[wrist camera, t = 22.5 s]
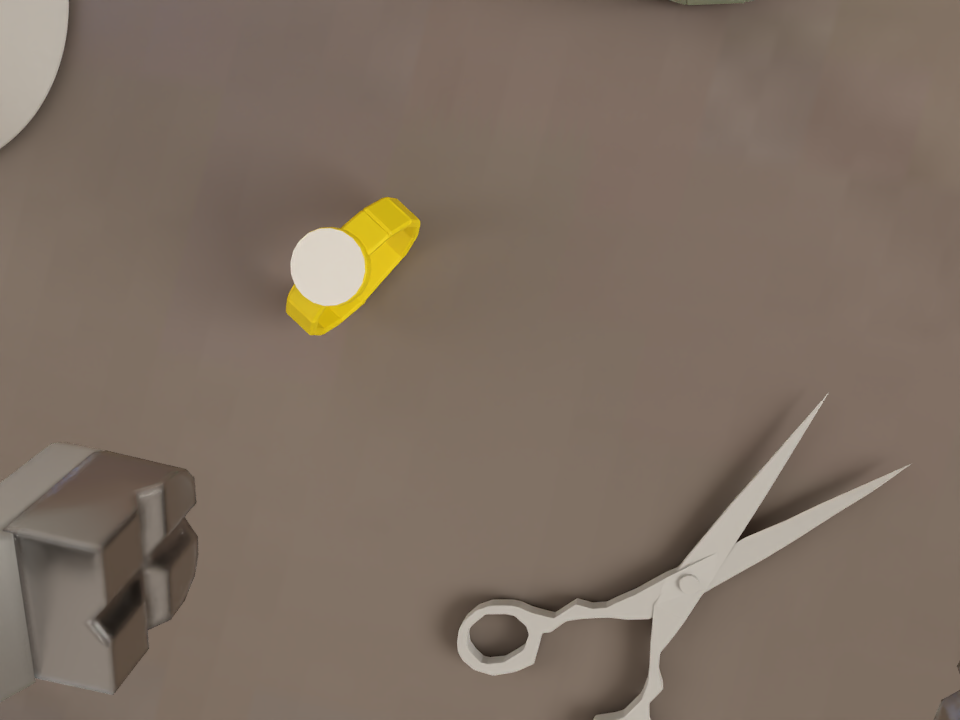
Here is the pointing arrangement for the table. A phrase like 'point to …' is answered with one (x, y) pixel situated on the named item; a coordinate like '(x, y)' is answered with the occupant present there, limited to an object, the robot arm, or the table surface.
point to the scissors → (670, 580)
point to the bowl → (709, 1)
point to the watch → (347, 264)
